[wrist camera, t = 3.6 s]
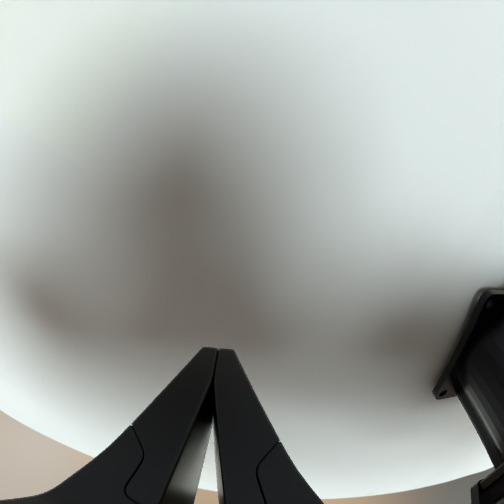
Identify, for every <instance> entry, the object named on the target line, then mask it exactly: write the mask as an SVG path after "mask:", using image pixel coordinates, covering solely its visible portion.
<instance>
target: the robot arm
mask: <svg viewBox="0 0 504 504" xmlns="http://www.w3.org/2000/svg"><path fill="white" fill-rule="evenodd" d="M433 395H434V397H435V399H437V400H438V399H444V398H449V397H454V396H458V398H459V400H460V402H461V403H462V405H463V407H464V409H465V411H466V412H467V414H468V416H469V418H470V420H471V422H472V423H473V425H474V427H475V429H476V431H477V433H478V435H479V437H480V439H481V441H482V443H483V445H484V447H485V449H486V451H487V453H488V455H489V457H490V459H491V461H492V463H493V465H494V467H495V470H494V471H493V472H492V473H491V474H489V475H488V476H487V477H486V478H485V479H482V480H480V481H479V482H477V483H476V484H475V485H473V486H472V487H471V501H472V502H471V504H504V290H487V291H485V292H484V293H483V294H482V295H481V297H480V299H479V301H478V303H477V306H476V308H475V311H474V313H473V315H472V317H471V320H470V322H469V324H468V326H467V328H466V330H465V332H464V335H463V337H462V339H461V341H460V343H459V345H458V347H457V349H456V350H455V352H454V354H453V356H452V358H451V360H450V362H449V364H448V365H447V367H446V369H445V371H444V372H443V374H442V376H441V378H440V379H439V381H438V383H437V384H436V386H435V388H434V389H433ZM212 424H214V445H215V460H216V474H217V487H218V498H219V504H324V503H323V502H322V501H321V499H320V498H319V497H318V496H317V495H316V493H315V492H314V491H313V490H312V488H311V487H310V486H309V485H308V483H307V482H306V481H305V479H304V478H303V477H302V475H301V474H300V473H299V471H298V470H297V468H296V467H295V465H294V463H293V462H292V460H291V459H290V457H289V455H288V454H287V452H286V450H285V448H284V446H283V445H282V443H281V442H279V441H280V439H279V437H278V436H277V434H276V432H275V430H274V428H273V426H272V424H271V422H270V421H269V419H268V417H267V415H266V413H265V411H264V409H263V407H262V405H261V403H260V401H259V399H258V397H257V395H256V393H255V391H254V390H253V388H252V386H251V384H250V382H249V380H248V377H247V375H246V373H245V371H244V369H243V367H242V365H241V363H240V361H239V359H238V357H237V355H236V353H235V351H234V350H233V349H223V348H220V349H219V350H218V349H217V348H212V347H203V348H201V349H200V351H199V352H198V353H197V354H196V355H195V356H194V357H193V358H192V359H191V360H190V362H189V363H188V364H187V365H186V366H185V367H184V368H183V369H182V370H181V371H180V372H179V374H178V375H177V376H176V377H175V378H174V379H173V380H172V381H171V382H170V383H169V384H168V385H167V387H166V388H165V389H164V390H163V391H162V392H161V393H160V394H159V395H158V396H157V397H156V398H155V399H154V400H153V402H152V403H151V404H150V405H149V406H148V407H147V408H146V409H145V410H144V411H143V412H142V413H141V414H140V415H139V416H138V417H137V419H136V420H135V421H134V422H133V423H132V426H131V425H130V426H129V427H128V428H127V429H126V430H125V431H124V432H123V433H122V434H121V435H120V436H119V437H118V438H117V439H116V440H115V441H114V442H113V443H112V444H111V445H110V446H109V447H108V448H106V449H105V450H104V451H103V452H101V453H100V454H99V455H98V456H97V457H95V458H94V459H93V460H92V461H90V462H89V463H88V464H86V465H85V466H84V467H82V468H81V469H80V470H78V471H77V472H76V473H74V474H73V475H72V476H70V477H69V478H67V479H66V480H65V481H63V482H62V483H61V484H59V485H58V486H56V487H55V488H53V489H51V490H49V491H47V492H44V493H42V494H39V495H35V496H30V497H23V498H15V499H8V500H0V504H194V500H195V496H196V492H197V488H198V484H199V479H200V475H201V471H202V467H203V463H204V458H205V454H206V450H207V446H208V442H209V437H210V433H211V429H212Z"/></svg>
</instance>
